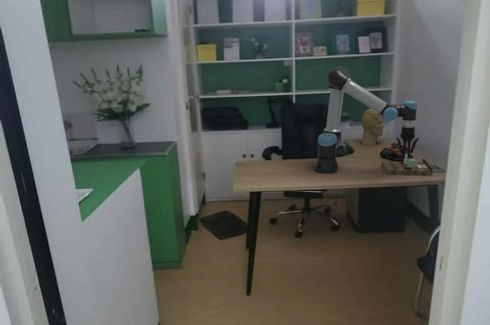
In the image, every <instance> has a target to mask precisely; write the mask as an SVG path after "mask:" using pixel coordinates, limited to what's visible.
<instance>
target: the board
mask: <svg viewBox="0 0 490 325" xmlns="http://www.w3.org/2000/svg"><path fill="white" fill-rule="evenodd" d="M381 167H382V169H383V171H384V173H385V175H394V176H399V175H400V176H427V175H432V176H433V166H432V165H431V163H430V162H429V161H428V160H427V159H425V158H422V161H416V167H407V166H406V165H405V164H404V162H399V161H388V160H387V161H385V160H384V161H383V160H382V161H381Z"/></svg>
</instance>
